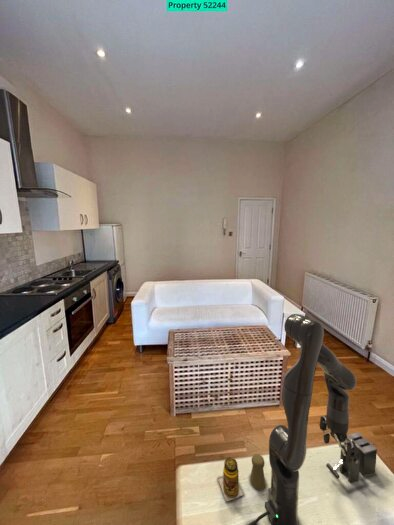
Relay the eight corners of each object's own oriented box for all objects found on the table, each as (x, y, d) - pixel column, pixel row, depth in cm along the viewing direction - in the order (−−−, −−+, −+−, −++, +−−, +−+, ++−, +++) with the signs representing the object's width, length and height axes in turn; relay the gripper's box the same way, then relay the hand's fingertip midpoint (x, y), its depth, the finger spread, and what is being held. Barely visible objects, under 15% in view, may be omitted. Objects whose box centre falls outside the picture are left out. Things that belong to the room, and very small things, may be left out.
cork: (265, 491, 88) (266, 466, 87) (250, 487, 89) (250, 463, 88) (264, 475, 94) (264, 452, 92) (249, 472, 95) (250, 449, 94)
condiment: (226, 502, 84) (226, 474, 83) (218, 479, 92) (218, 453, 91) (243, 495, 86) (243, 468, 85) (233, 473, 94) (233, 448, 93)
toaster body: (362, 479, 92) (364, 452, 91) (344, 459, 100) (346, 435, 99) (375, 474, 94) (377, 448, 92) (356, 455, 102) (357, 431, 101)
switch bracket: (348, 492, 87) (350, 463, 86) (331, 472, 95) (332, 445, 93) (367, 485, 89) (369, 457, 88) (349, 466, 97) (350, 439, 96)
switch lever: (337, 480, 87) (335, 476, 86) (327, 467, 92) (325, 464, 91) (359, 460, 89) (357, 456, 89) (348, 449, 94) (346, 445, 93)
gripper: (315, 404, 93) (314, 438, 94) (346, 432, 79) (343, 472, 81) (330, 400, 95) (328, 434, 96) (362, 427, 81) (359, 466, 82)
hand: (335, 451), depth 88 cm, fingers open, 8 cm apart
